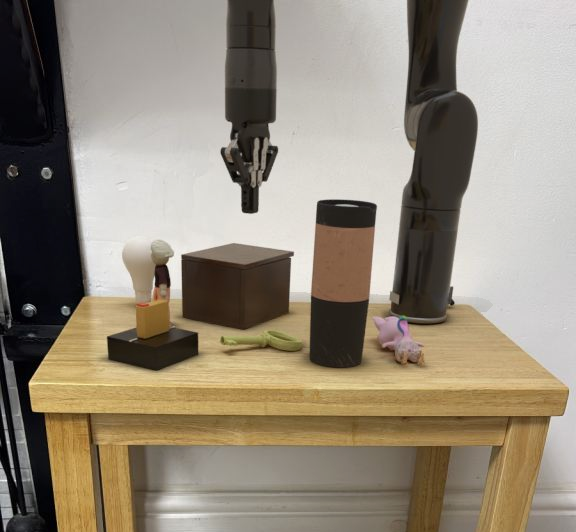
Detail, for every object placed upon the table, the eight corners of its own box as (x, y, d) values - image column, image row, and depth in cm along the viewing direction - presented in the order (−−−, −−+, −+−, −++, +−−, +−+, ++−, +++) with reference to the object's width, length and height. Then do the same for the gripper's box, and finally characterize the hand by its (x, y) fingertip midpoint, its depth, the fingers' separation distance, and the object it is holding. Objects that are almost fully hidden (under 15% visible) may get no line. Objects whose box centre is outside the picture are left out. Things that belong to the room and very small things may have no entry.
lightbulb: (170, 306, 129) (168, 236, 124) (145, 312, 124) (142, 240, 119) (142, 300, 132) (139, 231, 127) (117, 306, 127) (112, 235, 122)
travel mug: (299, 353, 108) (306, 199, 99) (349, 350, 110) (361, 199, 101) (320, 370, 102) (331, 206, 92) (373, 366, 104) (388, 206, 95)
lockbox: (230, 302, 133) (230, 248, 129) (288, 312, 128) (291, 257, 124) (182, 317, 123) (181, 259, 119) (244, 329, 118) (245, 269, 114)
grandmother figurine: (145, 322, 119) (142, 235, 113) (170, 321, 120) (168, 235, 114) (154, 335, 113) (151, 244, 107) (180, 334, 114) (178, 244, 108)
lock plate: (152, 343, 109) (151, 321, 108) (199, 354, 106) (198, 331, 104) (107, 359, 102) (106, 335, 100) (156, 370, 98) (155, 346, 97)
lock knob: (160, 329, 105) (159, 297, 103) (169, 331, 104) (168, 298, 102) (136, 337, 101) (135, 304, 99) (145, 338, 100) (143, 305, 98)
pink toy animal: (432, 375, 106) (398, 329, 118) (441, 334, 103) (405, 290, 114) (389, 376, 105) (359, 329, 116) (396, 335, 101) (364, 290, 113)
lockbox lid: (233, 247, 130) (233, 242, 129) (293, 256, 125) (294, 251, 125) (181, 259, 119) (181, 254, 118) (245, 269, 114) (245, 264, 113)
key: (216, 351, 107) (216, 336, 106) (275, 336, 115) (276, 321, 114) (254, 363, 103) (255, 347, 102) (313, 346, 111) (314, 332, 110)
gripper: (247, 85, 106) (247, 219, 114) (295, 87, 116) (292, 211, 125) (202, 84, 109) (205, 214, 118) (253, 86, 120) (252, 207, 128)
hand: (250, 212), depth 121 cm, fingers closed
